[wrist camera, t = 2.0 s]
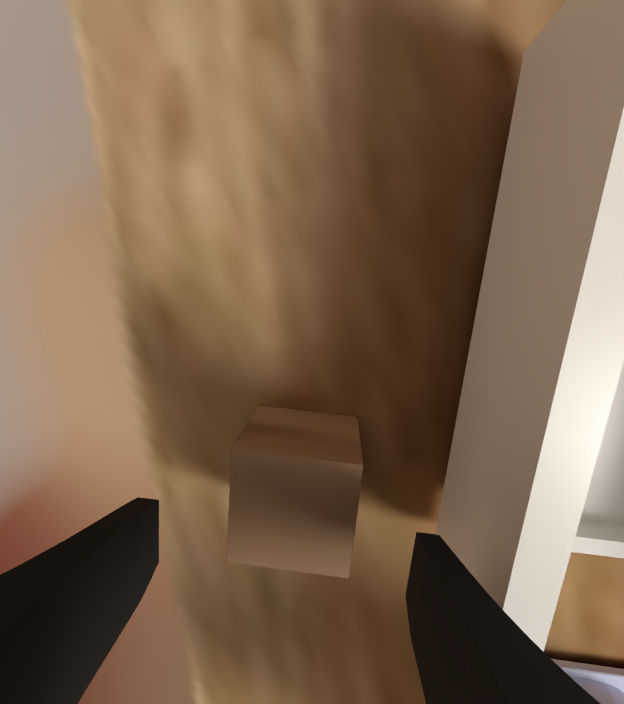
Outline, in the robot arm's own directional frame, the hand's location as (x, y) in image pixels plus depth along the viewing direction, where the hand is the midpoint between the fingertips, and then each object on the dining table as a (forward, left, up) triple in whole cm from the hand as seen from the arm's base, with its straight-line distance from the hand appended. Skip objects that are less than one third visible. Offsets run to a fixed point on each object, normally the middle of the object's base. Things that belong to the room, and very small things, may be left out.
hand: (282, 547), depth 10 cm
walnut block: (0, 0, -6) cm, 6 cm away
